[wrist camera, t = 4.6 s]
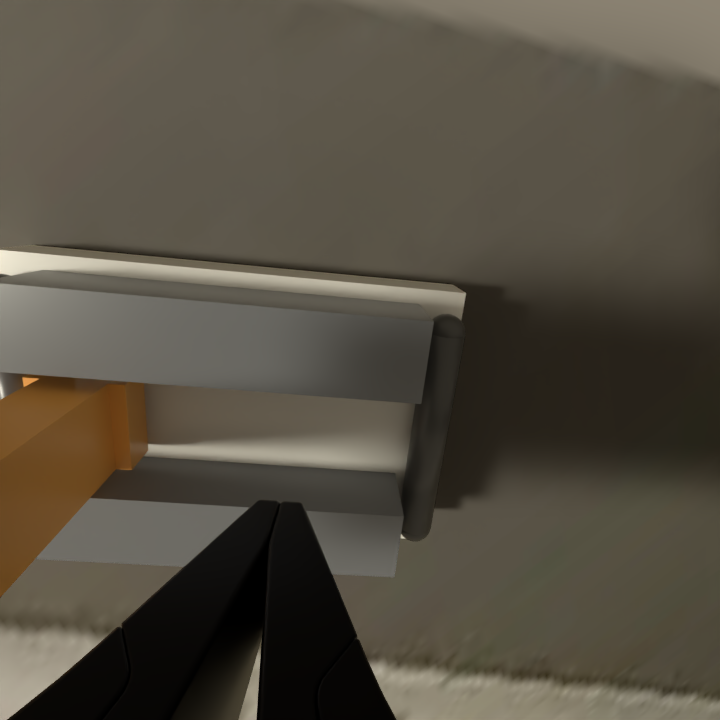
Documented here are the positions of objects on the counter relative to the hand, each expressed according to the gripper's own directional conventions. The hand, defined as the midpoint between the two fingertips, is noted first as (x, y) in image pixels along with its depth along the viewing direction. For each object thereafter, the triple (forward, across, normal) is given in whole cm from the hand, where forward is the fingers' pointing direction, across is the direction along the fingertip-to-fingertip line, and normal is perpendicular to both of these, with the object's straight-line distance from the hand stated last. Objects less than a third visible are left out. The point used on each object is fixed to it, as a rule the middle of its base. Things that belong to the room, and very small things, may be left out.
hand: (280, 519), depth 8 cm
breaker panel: (+6, +2, 0) cm, 6 cm away
